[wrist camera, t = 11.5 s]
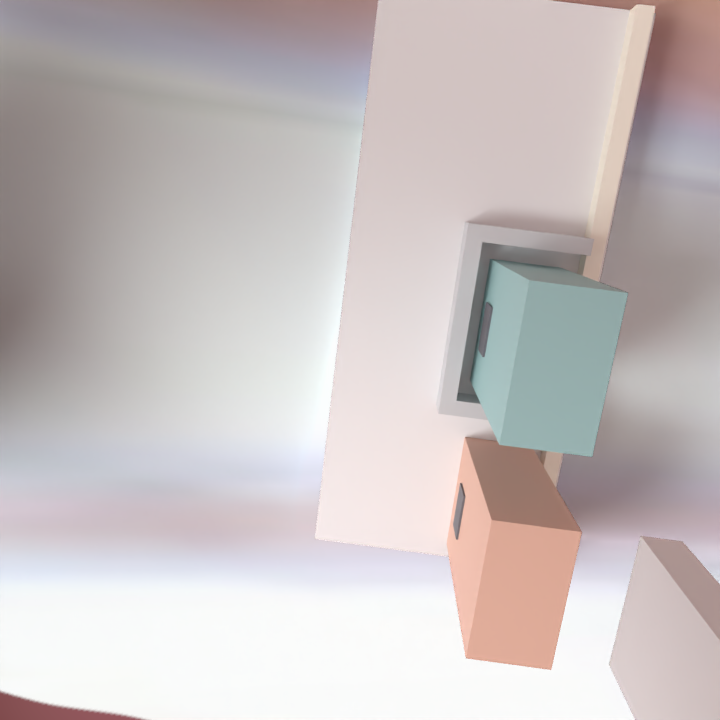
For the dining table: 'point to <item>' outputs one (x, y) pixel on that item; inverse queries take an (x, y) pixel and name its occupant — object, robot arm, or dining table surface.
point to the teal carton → (545, 355)
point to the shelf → (462, 231)
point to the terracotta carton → (509, 555)
